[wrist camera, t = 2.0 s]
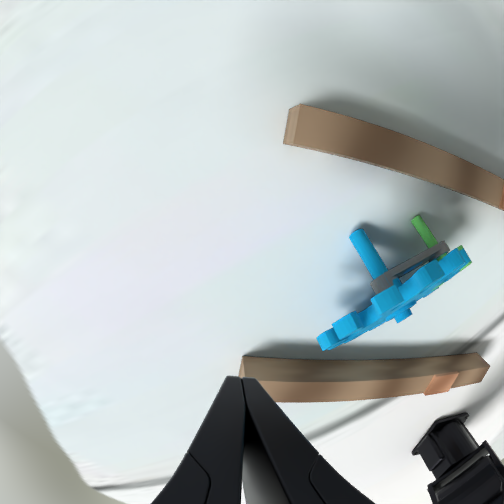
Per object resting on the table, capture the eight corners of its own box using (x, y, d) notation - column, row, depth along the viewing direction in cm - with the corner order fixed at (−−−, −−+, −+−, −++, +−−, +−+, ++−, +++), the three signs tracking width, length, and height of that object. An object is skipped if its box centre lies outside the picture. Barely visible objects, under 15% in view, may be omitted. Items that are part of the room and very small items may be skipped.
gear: (316, 367, 20) (350, 347, 11) (281, 292, 22) (284, 219, 13) (438, 298, 21) (514, 239, 12) (402, 236, 23) (453, 155, 14)
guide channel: (531, 200, 19) (552, 207, 17) (468, 368, 25) (482, 384, 22) (289, 108, 16) (301, 102, 13) (238, 377, 21) (240, 404, 19)
